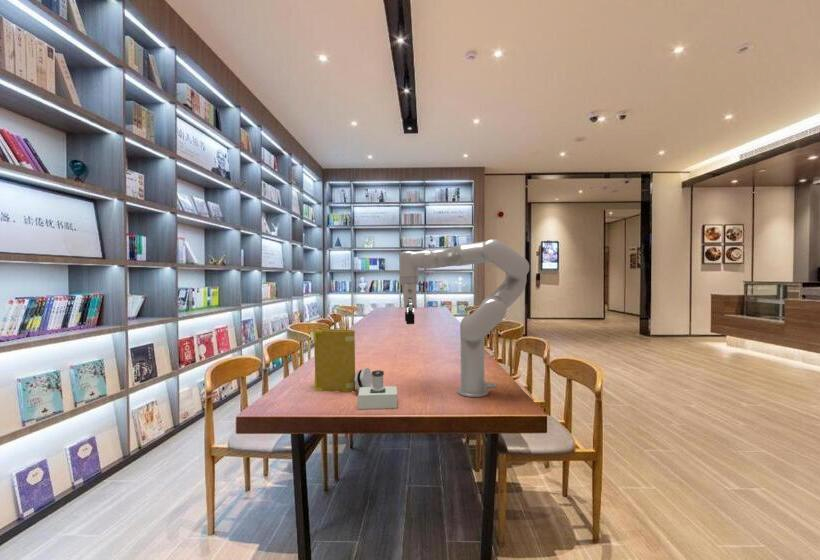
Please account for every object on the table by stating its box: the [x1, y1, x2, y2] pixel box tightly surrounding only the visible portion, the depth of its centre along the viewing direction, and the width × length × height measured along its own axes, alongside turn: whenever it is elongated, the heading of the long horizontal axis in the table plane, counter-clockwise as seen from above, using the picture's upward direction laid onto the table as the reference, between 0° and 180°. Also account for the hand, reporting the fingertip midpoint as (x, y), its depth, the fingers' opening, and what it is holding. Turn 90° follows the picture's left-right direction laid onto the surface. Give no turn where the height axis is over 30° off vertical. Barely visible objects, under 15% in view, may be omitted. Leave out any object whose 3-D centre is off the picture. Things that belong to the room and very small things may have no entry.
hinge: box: [355, 367, 373, 394], centre depth 158 cm, size 17×5×10 cm, turn 176°
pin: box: [371, 369, 385, 393], centre depth 141 cm, size 4×4×12 cm
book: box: [313, 328, 356, 393], centre depth 160 cm, size 17×7×25 cm, turn 71°
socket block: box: [357, 385, 398, 410], centre depth 141 cm, size 14×10×5 cm
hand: (409, 322), depth 156 cm, fingers open, 9 cm apart
